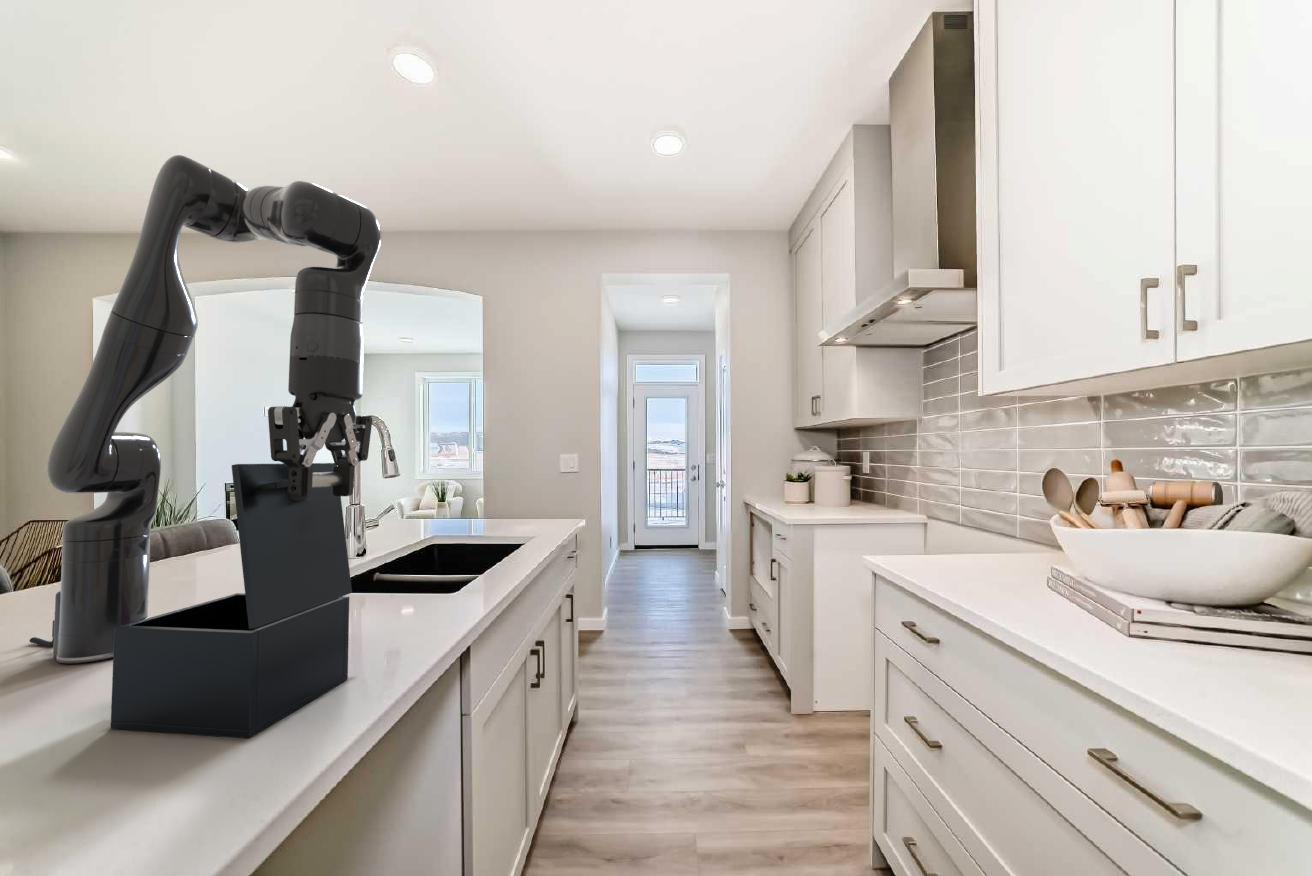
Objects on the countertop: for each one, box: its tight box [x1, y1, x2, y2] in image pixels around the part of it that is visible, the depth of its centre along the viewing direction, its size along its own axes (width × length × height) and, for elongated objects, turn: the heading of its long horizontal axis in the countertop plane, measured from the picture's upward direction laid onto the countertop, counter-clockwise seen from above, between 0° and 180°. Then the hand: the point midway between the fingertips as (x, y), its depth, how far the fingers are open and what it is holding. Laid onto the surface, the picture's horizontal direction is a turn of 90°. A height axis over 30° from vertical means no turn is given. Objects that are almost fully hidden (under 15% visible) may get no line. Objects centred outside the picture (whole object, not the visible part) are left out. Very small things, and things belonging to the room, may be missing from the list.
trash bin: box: [110, 592, 350, 739], centre depth 63 cm, size 17×15×11 cm
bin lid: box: [231, 462, 353, 629], centre depth 62 cm, size 17×15×5 cm
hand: (322, 497), depth 62 cm, fingers closed on bin lid, 6 cm apart
